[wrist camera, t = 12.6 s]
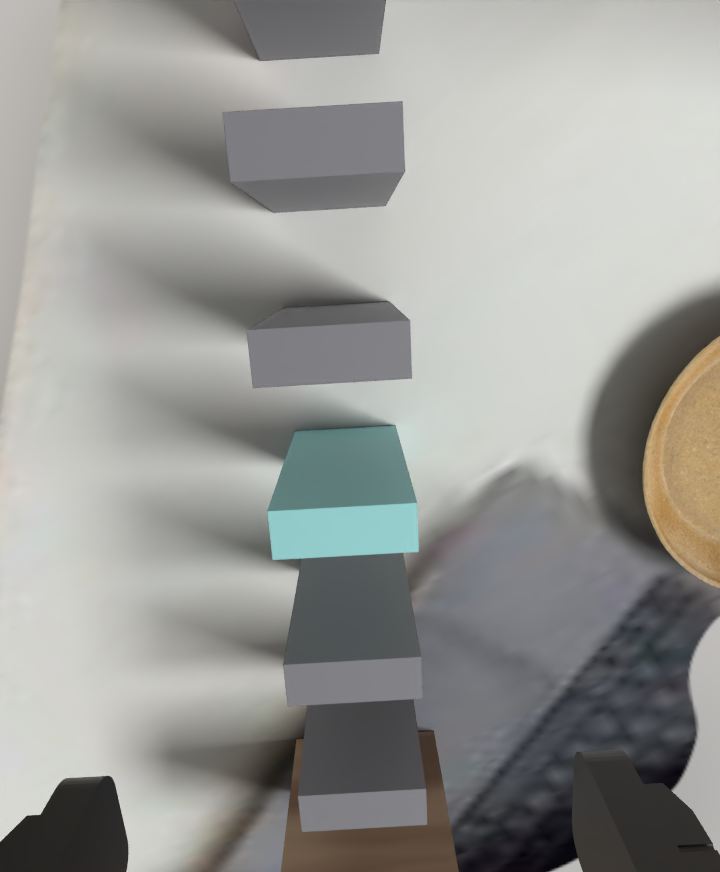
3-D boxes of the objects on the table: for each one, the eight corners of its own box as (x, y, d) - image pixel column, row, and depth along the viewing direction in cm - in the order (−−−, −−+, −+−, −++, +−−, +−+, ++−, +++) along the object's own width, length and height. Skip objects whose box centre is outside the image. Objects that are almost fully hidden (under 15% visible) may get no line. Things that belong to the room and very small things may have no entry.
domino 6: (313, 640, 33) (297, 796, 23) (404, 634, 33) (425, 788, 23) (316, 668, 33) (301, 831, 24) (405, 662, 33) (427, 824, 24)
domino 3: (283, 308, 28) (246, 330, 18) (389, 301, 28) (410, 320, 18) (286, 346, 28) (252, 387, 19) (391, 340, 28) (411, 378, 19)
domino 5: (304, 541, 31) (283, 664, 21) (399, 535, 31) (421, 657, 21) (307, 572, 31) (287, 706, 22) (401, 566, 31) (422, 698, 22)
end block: (296, 739, 34) (277, 897, 26) (433, 731, 34) (461, 887, 26) (302, 793, 36) (286, 963, 27) (435, 785, 36) (462, 953, 27)
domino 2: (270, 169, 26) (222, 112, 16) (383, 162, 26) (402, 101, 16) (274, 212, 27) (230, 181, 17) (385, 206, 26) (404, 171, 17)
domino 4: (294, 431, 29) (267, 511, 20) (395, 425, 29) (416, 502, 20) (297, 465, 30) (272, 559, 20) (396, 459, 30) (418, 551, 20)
